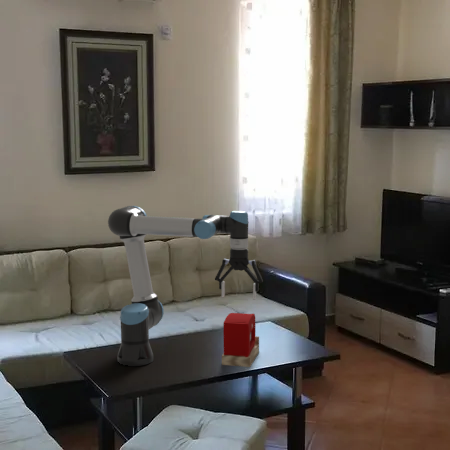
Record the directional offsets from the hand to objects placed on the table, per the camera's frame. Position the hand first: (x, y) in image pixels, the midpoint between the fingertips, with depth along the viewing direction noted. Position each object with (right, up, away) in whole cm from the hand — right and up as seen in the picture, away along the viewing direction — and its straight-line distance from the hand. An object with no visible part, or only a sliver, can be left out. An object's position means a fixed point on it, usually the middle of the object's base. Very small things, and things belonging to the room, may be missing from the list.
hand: (238, 297), depth 290 cm
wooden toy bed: (+1, -26, +5) cm, 27 cm away
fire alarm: (+1, -23, +3) cm, 23 cm away
